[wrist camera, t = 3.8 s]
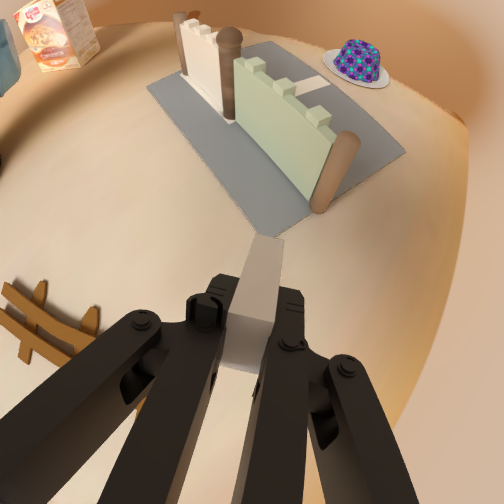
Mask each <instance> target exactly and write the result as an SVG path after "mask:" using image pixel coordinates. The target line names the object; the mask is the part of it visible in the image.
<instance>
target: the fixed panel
mask: <svg viewBox="0 0 504 504" xmlns="http://www.w3.org/2000/svg"><path fill="white" fill-rule="evenodd" d="M172 17H173V22H174V28H175V34H176V39H177V45H178V50H179V56H180V61H181V66H182V71H183V75H185V76H190V77H191V78H192V79H193V80H195V81H196V82H197V83H198V84H199V85H200V86H201V87H202V88H203V89H204V90H205V91H206V92H207V93H208V94H209V95H210V96H211V97H212V98H213V99H214V100H215V101H216V102H217V103H218V104H219V105H220V106H221V107H222V108H223V101H222V88H221V75H220V62H219V48H218V45H217V43H216V35H217V33H218V31H217V32H214V33H211V27H209V26H207V25H206V24H204V25H201V26H199V21H198V20H196V19H194V18H193V19H190V20H187V15H186V12H178V13H175V14H173V16H172Z"/></svg>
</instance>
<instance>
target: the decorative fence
mask: <svg viewBox="0 0 504 504" xmlns="http://www.w3.org/2000/svg"><path fill="white" fill-rule="evenodd" d="M46 287H47V283H45V282H43V281H40V282H39V284H38V285H37V287H36V288H35V290H34V293H33V296H32V299H31V300H30V299H28V298H27V297H26V296H24V295H23V294H22V293H20V292H19V291H18V290H17V289H15V288H14V287H13V286H12V285H10V284H9V283H7V282H4V285H3V289H2V292H1V294H2V295H3V296H4V297H5V298H6V299H7V300H9V301H10V302H11V303H12V304H13V305H14V306H16V307H17V308H18V309H19V310H20V311H22V312H23V313H24V314H25V315H27V317H26V321H25V325H23V324H22V323H21V322H19V321H18V320H16V319H15V318H14V317H12V316H11V315H10V314H9V313H7V312H6V311H5V310H3V309H2V308H0V324H1V325H2V326H3V327H5V328H6V329H7V330H8V331H9V332H11V333H12V334H13V335H14V336H16V337H17V338H18V339H20V340H21V343H20V348H19V353H18V358H20V359H21V360H22V361H23V362H25V363H26V364H27V365H29V363H30V358H31V353H32V349H33V350H34V351H36V352H37V353H39V354H40V355H41V356H43V357H44V358H46V359H47V360H49V361H50V362H52V363H53V364H55V365H57V366H58V367H60V368H61V367H62V366H63V365H64V364H66V363H67V362H68V361H69V360H71V359H72V358H73V357H74V356H75V355H77V354H78V353H79V352H80V351H82V350H83V349H84V348H85V347H86V346H88V345H89V344H90V343H91V342H93V341H94V340H95V339H96V338H97V337H95V336H96V332H97V329H98V325H99V310H98V309H96V308H94V307H90V308H89V309H88V311H87V312H86V314H85V315H84V317H83V318H82V322H81V325H80V329H79V330H78V329H76V328H73V327H71V326H69V325H67V324H64V323H62V322H61V321H59V320H58V319H56V318H55V317H53V316H52V315H50V314H49V313H47V312H46V311H45V310H43V309H42V308H43V305H44V302H45V298H46ZM38 325H39V326H41V327H42V328H43V329H45V330H46V331H48V332H49V333H50V334H52V335H53V336H55V337H57V338H59V339H61V340H63V341H65V342H67V343H69V344H71V345H73V346H75V347H74V351H73V355H72V356H71V355H69V354H67V353H66V352H64V351H62V350H61V349H59V348H58V347H56V346H54V345H53V344H51V343H50V342H48V341H47V340H45V339H44V338H42V337H41V336H39V335H38V334H36V331H37V327H38ZM147 395H148V394H147ZM146 397H147V396H146ZM146 397H145V398H144V399H143V400H142V401H141V402H140V403H139V404H138V406H137V407H136V408H135V409H137V414H136V418H137V416H138V414H139V412H140V409H141V407H142V405H143V403H144V401H145V399H146ZM136 418H135V420H136Z"/></svg>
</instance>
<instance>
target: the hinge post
mask: <svg viewBox="0 0 504 504" xmlns="http://www.w3.org/2000/svg"><path fill="white" fill-rule="evenodd" d="M242 41H243V36H242V33H241V32H240V31H239V30H238V29H236V28H233V27H226V28H223V29H221V30H220V31H219V32H218V33H217V35H216V43H217V45H218V48H219V62H220V75H221V88H222V101H223V113H224V117H225V118H226V119H228V120H236V119H235V91H234V59H237V58H240V57H241V43H242Z"/></svg>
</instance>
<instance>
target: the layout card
mask: <svg viewBox="0 0 504 504" xmlns="http://www.w3.org/2000/svg"><path fill="white" fill-rule="evenodd" d="M241 57H243V58H245V59H246V60H247V59H250V58H254V57H259V58H260V59H262V60H263V61H265V62H266V72H265V74H266V75H268V76H269V77H270V78H272V79H273V80H274V81H276V80H279V79H282V78H285V77H286V78H288V79H289V80H290V81H292V82H293V83H294V84H295V85H297V86H296V92H295V98H296V99H297V100H299V101H300V102H301V103H302V104H303V105H304V106H306V107H307V108H308V109H310V108H313V107H315V106H318V105H321V106H322V107H323V108H324V109H325V110H326V111H328V112H329V113H330V114H331V115H332V117H331V120H330V123H329V126H328V127H329V128H330V129H331V130H332V131H333V132H334V133H335V134H336V135H338V133H339V132H340V131H350V132H353V133H354V134H356V135H357V136H358V137H359V139H360V141H361V146H360V148H359V150H358V151H357V153H356V155H355V157H354V159H353V161H352V163H351V165H350V167H349V168H348V170H347V172H346V174H345V176H344V178H343V180H342V181H341V183H340V185H339V187H338V189H337V191H336V192H335V194H334V196H333V198H332V200H333V199H335V198H336V197H338V196H340V195H341V194H343V193H344V192H346V191H347V190H349V189H350V188H352V187H353V186H355V185H357V184H358V183H360V182H361V181H363V180H364V179H366V178H367V177H369V176H370V175H372V174H374V173H375V172H377V171H378V170H380V169H381V168H383V167H384V166H386V165H387V164H389V163H391V162H392V161H394V160H395V159H397V158H398V157H400V156H401V155H403V154H404V153H405V152H406V151H405V150H404V149H403V147H402V146H401V145H400V144H399V143H398V142H397V141H396V140H395V139H394V138H393V137H392V136H391V135H390V134H389V133H388V132H387V131H386V130H385V129H384V128H383V127H382V126H381V125H380V124H379V123H378V122H377V121H375V120H374V119H373V118H372V117H371V116H370V115H369V114H368V113H367V112H366V111H365V110H363V109H362V108H361V107H360V106H359V105H358V104H357V103H355V102H354V101H353V100H352V99H351V98H350V97H348V96H347V95H346V94H345V93H344V92H342V91H341V90H340V89H339V88H337V87H336V86H335V85H334V84H332V83H331V82H330V81H329V80H327V79H326V78H325V77H323V76H322V75H321V74H319V73H318V72H317V71H315V70H314V69H312V68H311V67H310V66H308V65H307V64H305V63H304V62H303V61H301V60H300V59H298V58H297V57H295V56H294V55H292V54H291V53H289V52H288V51H286V50H285V49H283V48H281V47H280V46H278V45H277V44H275V43H273V42H272V41H268V42H264V43H260V44H257V45H253V46H249V47H246V48H242V49H241ZM146 88H147V89H148V90H149V92H150V93H151V94H152V96H153V97H154V98H155V99H156V101H157V102H158V103H159V104H160V106H161V107H162V108H163V110H164V111H165V112H166V113H167V115H168V116H169V117H170V118H171V120H172V121H173V122H174V124H175V125H176V126H177V127H178V129H179V130H180V131H181V133H182V134H183V135H184V137H185V138H186V139H187V140H188V142H189V143H190V144H191V146H192V147H193V148H194V149H195V151H196V152H197V153H198V155H199V156H200V157H201V159H202V160H203V161H204V163H205V164H206V165H207V166H208V168H209V169H210V170H211V172H212V173H213V174H214V176H215V177H216V178H217V180H218V181H219V182H220V184H221V185H222V186H223V187H224V189H225V190H226V191H227V193H228V194H229V195H230V197H231V198H232V199H233V201H234V202H235V203H236V205H237V206H238V207H239V209H240V210H241V211H242V213H243V214H244V215H245V217H246V218H247V219H248V221H249V222H250V223H251V225H252V226H253V227H254V229H255V230H256V231H257V233H258V234H260V235H264V236H269V237H273V238H275V237H276V236H278V235H279V234H281V233H282V232H284V231H285V230H287V229H288V228H290V227H292V226H293V225H295V224H296V223H298V222H299V221H301V220H302V219H304V218H305V217H307V216H309V215H310V214H312V213H313V212H312V211H311V210H310V208H309V203H310V201H309V202H308V200H307V199H306V198H305V197H304V196H303V195H302V193H301V192H300V191H299V190H298V189H297V187H296V186H295V185H294V184H293V183H292V182H291V181H290V179H289V178H288V177H287V176H286V175H285V174H284V173H283V171H282V170H281V169H280V168H279V167H278V166H277V165H276V163H275V162H274V161H273V160H272V159H271V158H270V157H269V156H268V155H267V154H266V152H265V151H264V150H263V149H262V148H261V147H260V146H259V145H258V144H257V143H256V142H255V141H254V139H253V138H252V137H251V136H250V135H249V134H248V133H247V132H246V131H245V130H244V129H243V128H242V127H241V126H240V125H239V124H238V123H237V122H236V120H228V119H226V118H225V117H224V113H223V108H222V107H221V106H220V105H219V104H218V103H217V102H216V101H215V100H214V99H213V98H212V97H211V96H210V95H209V94H208V93H207V92H206V91H205V90H204V89H203V88H202V87H201V86H200V85H199V84H198V83H197V82H196V81H195V80H193V79H192V78H191V77H190V76H185V75H183V71H182V70H181V71H178V72H176V73H174V74H171V75H169V76H167V77H165V78H163V79H160V80H158V81H156V82H154V83H152V84H150V85H148V86H146ZM332 200H331V201H332Z"/></svg>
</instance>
